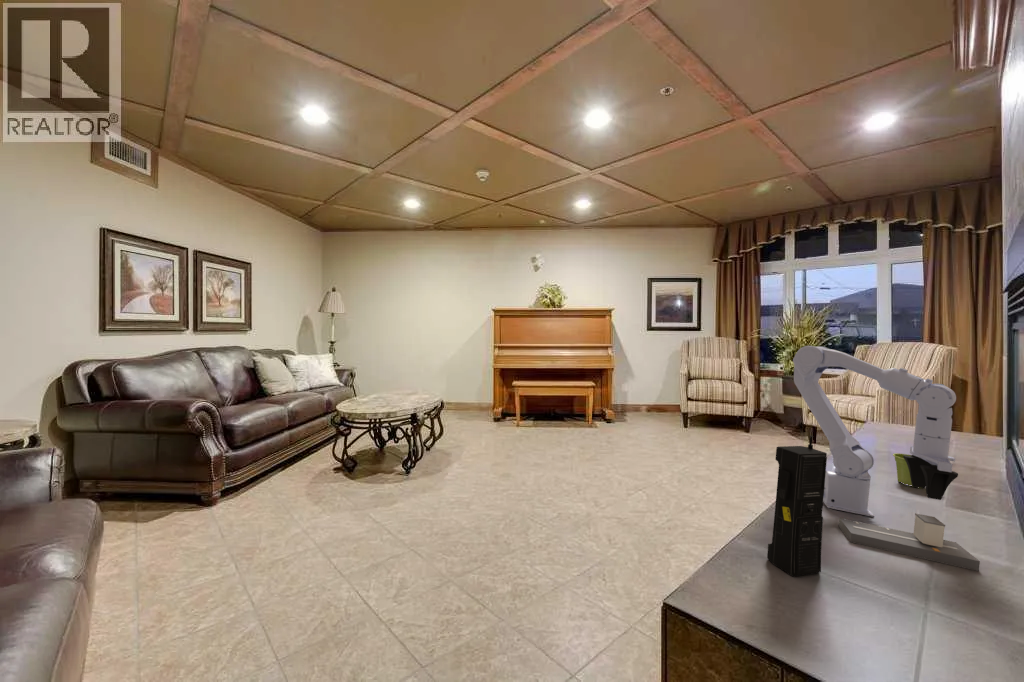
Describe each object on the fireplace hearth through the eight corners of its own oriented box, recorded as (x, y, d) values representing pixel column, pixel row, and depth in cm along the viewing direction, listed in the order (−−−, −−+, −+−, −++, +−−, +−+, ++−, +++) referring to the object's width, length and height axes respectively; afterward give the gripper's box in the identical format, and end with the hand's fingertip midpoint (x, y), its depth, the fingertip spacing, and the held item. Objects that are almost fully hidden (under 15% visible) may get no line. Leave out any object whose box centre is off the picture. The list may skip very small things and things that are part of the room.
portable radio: (790, 579, 71) (803, 443, 70) (761, 560, 77) (772, 433, 76) (823, 575, 73) (835, 442, 72) (792, 556, 79) (803, 433, 78)
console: (850, 541, 86) (851, 532, 86) (838, 526, 94) (839, 517, 94) (978, 571, 78) (979, 560, 78) (955, 551, 85) (956, 541, 85)
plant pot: (883, 479, 129) (885, 453, 128) (902, 478, 132) (904, 452, 131) (920, 491, 120) (923, 463, 119) (939, 489, 123) (942, 462, 122)
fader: (922, 543, 83) (924, 521, 83) (913, 534, 87) (915, 513, 86) (942, 547, 82) (945, 525, 81) (932, 538, 85) (934, 517, 85)
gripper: (974, 446, 84) (967, 508, 85) (939, 432, 97) (933, 486, 98) (929, 440, 88) (922, 500, 88) (901, 427, 101) (895, 479, 101)
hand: (925, 492), depth 93 cm, fingers open, 7 cm apart
